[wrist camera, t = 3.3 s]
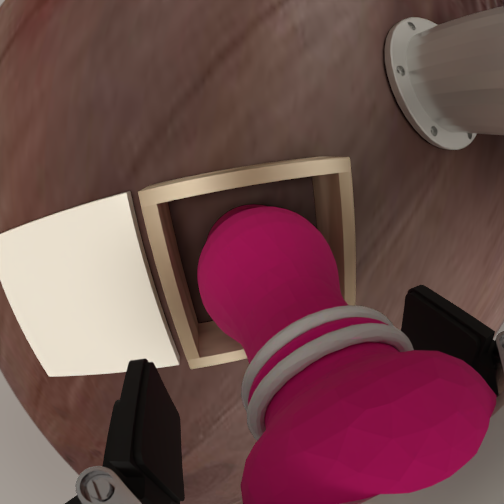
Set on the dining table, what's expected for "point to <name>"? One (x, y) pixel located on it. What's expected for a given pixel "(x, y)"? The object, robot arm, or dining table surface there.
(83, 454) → the dining table surface
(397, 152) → the dining table surface
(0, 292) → the dining table surface
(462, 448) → the pepper mill
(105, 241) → the tile
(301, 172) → the holder
